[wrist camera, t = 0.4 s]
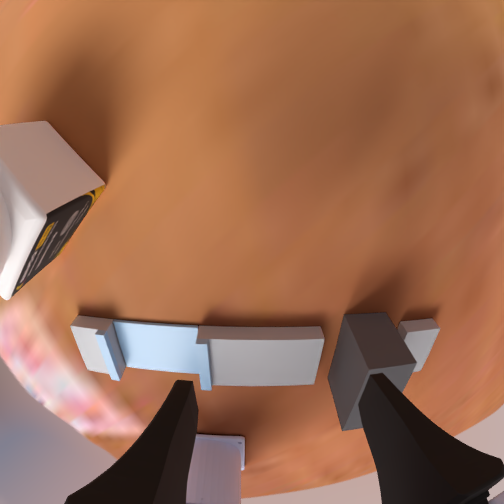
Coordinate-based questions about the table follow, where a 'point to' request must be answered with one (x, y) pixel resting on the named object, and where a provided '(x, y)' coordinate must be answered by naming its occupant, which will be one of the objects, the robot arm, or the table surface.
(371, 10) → the table surface
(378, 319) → the grey tapered block
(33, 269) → the medicine bottle
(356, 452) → the table surface
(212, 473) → the robot arm
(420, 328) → the flanged white bar
